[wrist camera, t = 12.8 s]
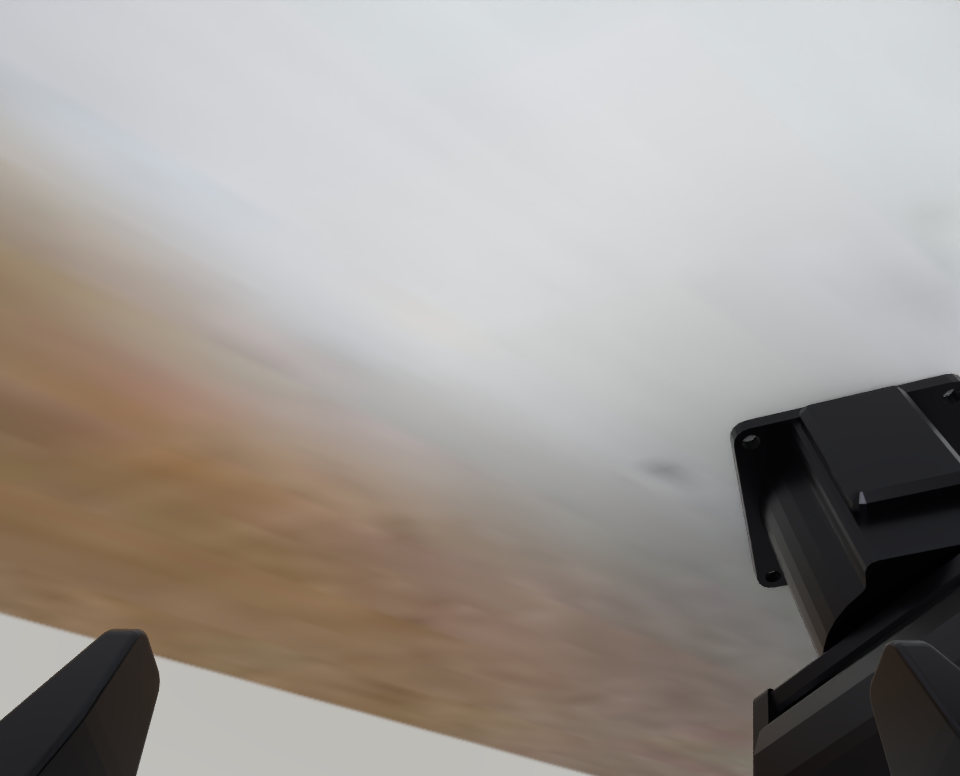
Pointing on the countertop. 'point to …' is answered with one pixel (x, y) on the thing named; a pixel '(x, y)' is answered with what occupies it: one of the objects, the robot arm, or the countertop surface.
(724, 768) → the countertop surface
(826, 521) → the robot arm
